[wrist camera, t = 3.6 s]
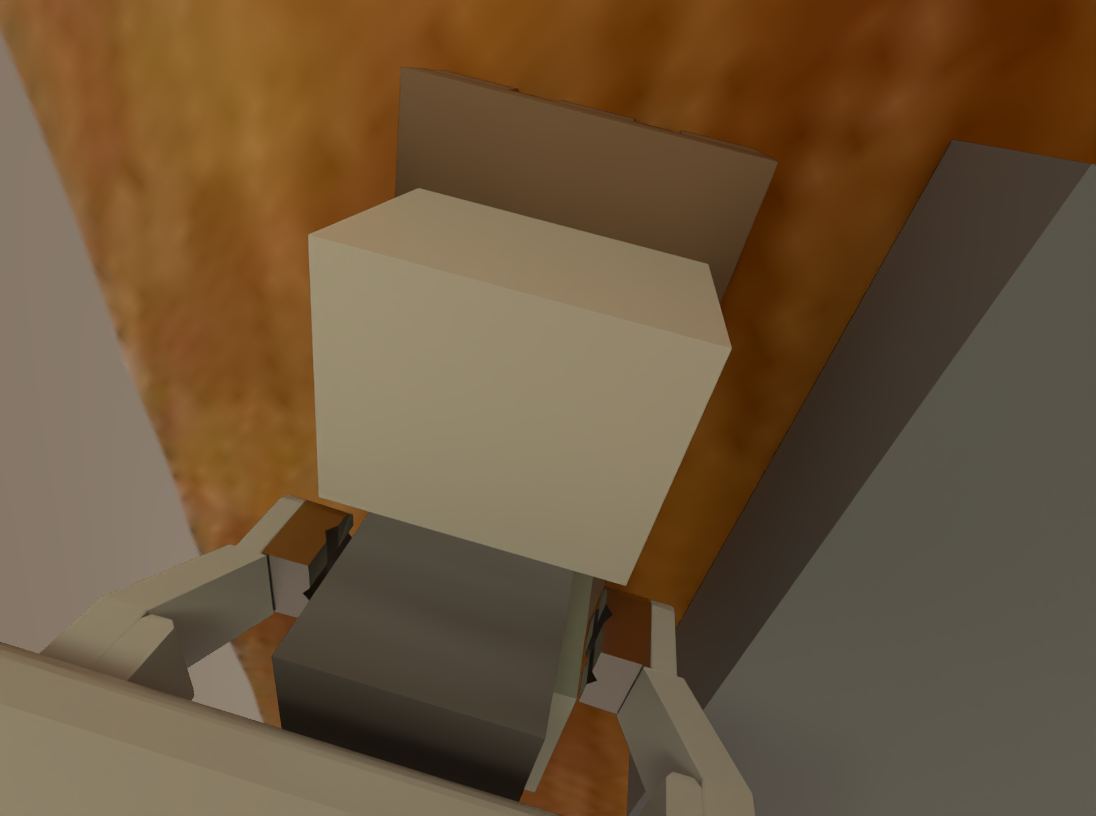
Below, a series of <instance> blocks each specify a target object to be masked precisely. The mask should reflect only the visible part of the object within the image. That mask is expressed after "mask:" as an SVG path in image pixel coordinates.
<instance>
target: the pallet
mask: <svg viewBox="0 0 1096 816" xmlns="http://www.w3.org/2000/svg"><path fill="white" fill-rule="evenodd" d="M634 120H635V118H631V117H627V116H623V115H619V114H615V113H611V112H607V111H603V110H599V109H595V108H591V107H587V106H583V105H579V104H575V103H571V102H567V101H563V100H562V101H551V100H547V99H543V98H539V97H535V96H531V95H527V94H523V93H520V92H518V89H516V88H512V87H508V86H504V85H500V84H496V83H492V82H488V81H484V80H480V79H476V78H472V77H468V76H464V75H460V74H456V73H452V72H449V71H438V70H429V69H422V68H409V67H401V82H400V104H399V125H398V147H397V168H396V190H395V198H396V197H398V196H401V195H403V194H406V193H408V192H410V191H413V190H415V189H417V188H421V189H424V190H428V191H432V192H436V193H440V194H443V195H447V196H451V197H455V198H459V199H462V200H466V201H470V202H474V203H478V204H481V205H485V206H489V207H493V208H497V209H501V210H504V211H508V212H512V213H516V214H520V215H523V216H527V217H531V218H535V219H539V220H542V221H546V222H550V223H554V224H558V225H561V226H565V227H569V228H573V229H577V230H581V231H584V232H588V233H592V234H596V235H600V236H603V237H607V238H611V239H615V240H619V241H622V242H626V243H630V244H634V245H638V246H641V247H645V248H649V249H653V250H657V251H661V252H664V253H668V254H672V255H676V256H680V257H683V258H687V259H691V260H695V261H699V262H702V263H706V264H708V265H709V268H710V272H711V275H712V279H713V283H714V286H715V290H716V293H717V297H718V300H719V304H720V303H721V301H722V298H723V296H724V293H725V291H726V289H727V286H728V284H729V281H730V279H731V276H732V274H733V272H734V269H735V267H736V264H737V262H738V259H739V257H740V255H741V252H742V250H743V247H744V245H745V242H746V240H747V238H748V235H749V233H750V230H751V228H752V225H753V223H754V220H755V218H756V216H757V213H758V211H759V208H760V206H761V203H762V201H763V199H764V196H765V194H766V191H767V189H768V186H769V184H770V182H771V179H772V177H773V174H774V172H775V169H776V167H777V165H778V162H777V161H775V160H774V159H772V158H771V157H769V156H767V155H765V154H761V153H760V152H758V151H757V150H755V149H753V148H749V147H745V146H741V145H737V144H733V143H730V142H726V141H722V140H718V139H714V138H710V137H706V136H702V135H698V134H694V133H690V132H686V131H682V130H680V133H678V132H674V131H670V130H666V129H662V128H658V127H654V126H650V125H646V124H642V123H638V122H634ZM573 577H574V571H573V570H569V569H566V568H562V567H559V566H555V565H552V564H548V563H545V562H541V561H538V560H534V559H531V558H528V557H524V556H521V555H517V554H514V553H510V552H507V551H503V550H500V549H496V548H493V547H490V546H486V545H483V544H479V543H476V542H472V541H469V540H465V539H462V538H458V537H455V536H452V535H448V534H445V533H441V532H438V531H434V530H431V529H427V528H424V527H420V526H417V525H413V524H410V523H407V522H403V521H400V520H396V519H393V518H389V517H386V516H382V515H379V514H375V513H372V512H369V514H368V515H367V517H366V518H365V520H364V521H363V523H362V524H361V526H360V527H359V528H358V530H357V531H356V533H355V534H354V536H353V537H352V539H351V540H350V542H349V543H348V545H347V546H346V548H345V549H344V550H343V552H342V553H341V555H340V556H339V558H338V559H337V561H336V562H335V564H334V565H333V567H332V568H331V570H330V571H329V573H328V574H327V575H326V577H325V578H324V580H323V581H322V583H321V584H320V586H319V587H318V589H317V590H316V592H315V593H314V595H313V596H312V598H311V599H310V600H309V602H308V603H307V605H306V606H305V608H304V609H303V611H302V612H301V614H300V615H299V617H298V618H297V620H296V621H295V623H294V624H293V625H292V627H291V628H290V630H289V631H288V633H287V634H286V636H285V637H284V639H283V640H282V642H281V643H280V645H279V646H278V648H277V649H276V650H275V652H274V653H273V655H272V661H273V668H274V676H275V683H276V690H277V697H278V705H279V712H280V719H281V726H282V729H284V730H287V731H290V732H294V733H297V734H300V735H303V736H307V737H310V738H313V739H316V740H320V741H323V742H326V743H329V744H333V745H336V746H339V747H342V748H346V749H349V750H352V751H355V752H359V753H362V754H365V755H368V756H371V757H375V758H378V759H381V760H384V761H388V762H391V763H394V764H397V765H401V766H404V767H407V768H410V769H414V770H417V771H420V772H423V773H427V774H430V775H433V776H436V777H439V778H443V779H446V780H449V781H452V782H456V783H459V784H462V785H465V786H469V787H472V788H475V789H478V790H481V791H485V792H488V793H491V794H494V795H498V796H501V797H504V798H507V799H511V800H514V801H517V802H519V800H520V798H521V795H522V793H523V791H524V788H525V786H526V783H527V781H528V779H529V776H530V774H531V772H532V769H533V767H534V764H535V762H536V760H537V757H538V755H539V752H540V750H541V748H542V745H543V743H544V741H545V737H546V732H547V726H548V720H549V714H550V709H551V703H552V697H553V691H554V686H555V680H556V674H557V668H558V663H559V657H560V651H561V646H562V640H563V634H564V628H565V623H566V617H567V611H568V605H569V600H570V594H571V588H572V582H573ZM605 583H606V580H604V579H600V578H597V577H593V582H592V589H591V597H590V604H589V612H588V619H587V626H588V624H589V622H590V619H591V617H592V614H593V612H594V609H595V607H596V605H597V602H598V600H599V597H600V595H601V592H602V590H603V588H604V585H605ZM586 629H587V627H586Z"/></svg>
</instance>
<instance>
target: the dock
mask: <svg viewBox="0 0 1096 816" xmlns="http://www.w3.org/2000/svg"><path fill="white" fill-rule="evenodd" d="M675 634H676V661H677V676H678V677H681V678H684V680H685V681H686V683H687V685H688V686H689V688H690V690H691V691H692V693H693V695H694V696H695V698H696V700H697V702H698V703H699V705H700V707H701V708H702V710H703V712H704V713H705V715H706V717H707V718H708V720H709V722H710V723H711V725H712V727H713V729H714V730H715V732H716V734H717V735H718V737H719V739H720V740H721V742H722V744H723V745H724V747H725V749H726V750H727V752H728V754H729V755H730V757H731V759H732V761H733V762H734V764H735V766H736V767H737V769H738V771H739V772H740V774H741V776H742V777H743V779H744V781H745V782H746V784H747V786H748V788H749V789H750V791H751V793H752V795H753V802H754V810H755V816H1096V165H1094V164H1089V163H1083V162H1077V161H1072V160H1066V159H1060V158H1055V157H1049V156H1043V155H1038V154H1032V153H1026V152H1021V151H1015V150H1009V149H1004V148H998V147H992V146H987V145H981V144H975V143H970V142H964V141H958V140H952V142H951V143H950V145H949V147H948V149H947V150H946V152H945V154H944V156H943V157H942V159H941V161H940V163H939V165H938V166H937V168H936V170H935V172H934V173H933V175H932V177H931V179H930V180H929V182H928V184H927V186H926V188H925V189H924V191H923V193H922V195H921V196H920V198H919V200H918V202H917V203H916V205H915V207H914V209H913V211H912V212H911V214H910V216H909V218H908V219H907V221H906V223H905V225H904V226H903V228H902V230H901V232H900V234H899V235H898V237H897V239H896V241H895V242H894V244H893V246H892V248H891V249H890V251H889V253H888V255H887V257H886V258H885V260H884V262H883V264H882V265H881V267H880V269H879V271H878V272H877V274H876V276H875V278H874V280H873V281H872V283H871V285H870V287H869V288H868V290H867V292H866V294H865V295H864V297H863V299H862V301H861V303H860V304H859V306H858V308H857V310H856V311H855V313H854V315H853V317H852V318H851V320H850V322H849V324H848V326H847V327H846V329H845V331H844V333H843V334H842V336H841V338H840V340H839V342H838V343H837V345H836V347H835V349H834V350H833V352H832V354H831V356H830V357H829V359H828V361H827V363H826V365H825V366H824V368H823V370H822V372H821V373H820V375H819V377H818V379H817V380H816V382H815V384H814V386H813V388H812V389H811V391H810V393H809V395H808V396H807V398H806V400H805V402H804V403H803V405H802V407H801V409H800V411H799V412H798V414H797V416H796V418H795V419H794V421H793V423H792V425H791V426H790V428H789V430H788V432H787V434H786V435H785V437H784V439H783V441H782V442H781V444H780V446H779V448H778V449H777V451H776V453H775V455H774V457H773V458H772V460H771V462H770V464H769V465H768V467H767V469H766V471H765V472H764V474H763V476H762V478H761V480H760V481H759V483H758V485H757V487H756V488H755V490H754V492H753V494H752V495H751V497H750V499H749V501H748V503H747V504H746V506H745V508H744V510H743V511H742V513H741V515H740V517H739V518H738V520H737V522H736V524H735V526H734V527H733V529H732V531H731V533H730V534H729V536H728V538H727V540H726V542H725V543H724V545H723V547H722V549H721V550H720V552H719V554H718V556H717V557H716V559H715V561H714V563H713V565H712V566H711V568H710V570H709V572H708V573H707V575H706V577H705V579H704V580H703V582H702V584H701V586H700V588H699V589H698V591H697V593H696V595H695V596H694V598H693V600H692V602H691V603H690V605H689V607H688V609H687V611H686V612H685V614H684V616H683V618H682V619H681V621H680V623H679V625H678V626H677V628H676V630H675ZM648 801H649V799H648V796H647V794H646V791H645V788H644V786H643V783H642V781H641V778H640V775H639V773H638V770H637V768H636V765H635V762H634V760H633V757H632V755H631V752H630V755H629V778H628V801H627V816H638V815H639V813H640V812H641V811H642V809H643V808H644V807H645V805H646V804H647V803H648Z"/></svg>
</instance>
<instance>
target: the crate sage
mask: <svg viewBox="0 0 1096 816" xmlns="http://www.w3.org/2000/svg"><path fill="white" fill-rule="evenodd" d="M592 582H593V576H590V575H586V574H583V573H579V572H576V571H574V577H573V582H572V588H571V594H570V600H569V605H568V611H567V617H566V623H565V628H564V634H563V640H562V646H561V651H560V657H559V663H558V668H557V674H556V680H555V686H554V691H553V697H552V703H551V709H550V714H549V720H548V726H547V732H546V737H545V741H544V743H543V745H542V748H541V750H540V752H539V755H538V757H537V760H536V762H535V764H534V767H533V769H532V772H531V774H530V776H529V779H528V781H527V783H526V786H525V788H524V789H525V790H528V791H531V792H534V793H535V791H536V788H537V786H538V784H539V782H540V780H541V777H542V775H543V773H544V771H545V768H546V766H547V764H548V762H549V760H550V757H551V755H552V753H553V751H554V749H555V746H556V744H557V742H558V740H559V737H560V735H561V733H562V731H563V729H564V726H565V724H566V722H567V720H568V717H569V715H570V713H571V711H572V709H573V706H574V704H575V702H576V700H577V693H578V686H579V679H580V671H581V664H582V656H583V649H584V641H585V634H586V627H587V619H588V612H589V604H590V597H591V589H592Z"/></svg>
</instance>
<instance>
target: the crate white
mask: <svg viewBox="0 0 1096 816" xmlns="http://www.w3.org/2000/svg"><path fill="white" fill-rule="evenodd" d="M308 246H309V270H310V295H311V319H312V343H313V367H314V392H315V416H316V440H317V464H318V489H319V497H320V498H324V499H327V500H331V501H334V502H337V503H341V504H344V505H348V506H351V507H355V508H358V509H362V510H365V511H369V512H372V513H375V514H379V515H382V516H386V517H389V518H393V519H396V520H400V521H403V522H407V523H410V524H413V525H417V526H420V527H424V528H427V529H431V530H434V531H438V532H441V533H445V534H448V535H452V536H455V537H458V538H462V539H465V540H469V541H472V542H476V543H479V544H483V545H486V546H490V547H493V548H496V549H500V550H503V551H507V552H510V553H514V554H517V555H521V556H524V557H528V558H531V559H534V560H538V561H541V562H545V563H548V564H552V565H555V566H559V567H562V568H566V569H569V570H573V571H576V572H579V573H583V574H586V575H590V576H593V577H597V578H600V579H604V580H607V581H611V582H614V583H617V584H621V585H624V586H626V585H627V582H628V580H629V578H630V576H631V573H632V571H633V569H634V567H635V564H636V562H637V560H638V558H639V555H640V553H641V551H642V549H643V546H644V544H645V542H646V540H647V538H648V535H649V533H650V531H651V529H652V526H653V524H654V522H655V520H656V517H657V515H658V513H659V511H660V508H661V506H662V504H663V502H664V499H665V497H666V495H667V493H668V490H669V488H670V486H671V484H672V481H673V479H674V477H675V475H676V473H677V470H678V468H679V466H680V464H681V461H682V459H683V457H684V455H685V452H686V450H687V448H688V446H689V443H690V441H691V439H692V437H693V434H694V432H695V430H696V428H697V425H698V423H699V421H700V419H701V417H702V414H703V412H704V410H705V408H706V405H707V403H708V401H709V399H710V396H711V394H712V392H713V390H714V387H715V385H716V383H717V381H718V378H719V376H720V374H721V372H722V369H723V367H724V365H725V363H726V361H727V358H728V356H729V354H730V352H731V349H732V347H731V344H730V340H729V336H728V333H727V329H726V326H725V322H724V318H723V315H722V311H721V308H720V304H719V300H718V297H717V293H716V290H715V286H714V283H713V279H712V275H711V272H710V268H709V265H708V264H706V263H702V262H699V261H695V260H691V259H687V258H683V257H680V256H676V255H672V254H668V253H664V252H661V251H657V250H653V249H649V248H645V247H641V246H638V245H634V244H630V243H626V242H622V241H619V240H615V239H611V238H607V237H603V236H600V235H596V234H592V233H588V232H584V231H581V230H577V229H573V228H569V227H565V226H561V225H558V224H554V223H550V222H546V221H542V220H539V219H535V218H531V217H527V216H523V215H520V214H516V213H512V212H508V211H504V210H501V209H497V208H493V207H489V206H485V205H481V204H478V203H474V202H470V201H466V200H462V199H459V198H455V197H451V196H447V195H443V194H440V193H436V192H432V191H428V190H424V189H421V188H417V189H415V190H413V191H410V192H408V193H406V194H403V195H401V196H398V197H396V198H394V199H391V200H389V201H387V202H384V203H382V204H380V205H377V206H375V207H372V208H370V209H368V210H365V211H363V212H361V213H358V214H356V215H353V216H351V217H349V218H346V219H344V220H342V221H339V222H337V223H334V224H332V225H330V226H327V227H325V228H323V229H320V230H318V231H315V232H313V233H311V234H308Z"/></svg>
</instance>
